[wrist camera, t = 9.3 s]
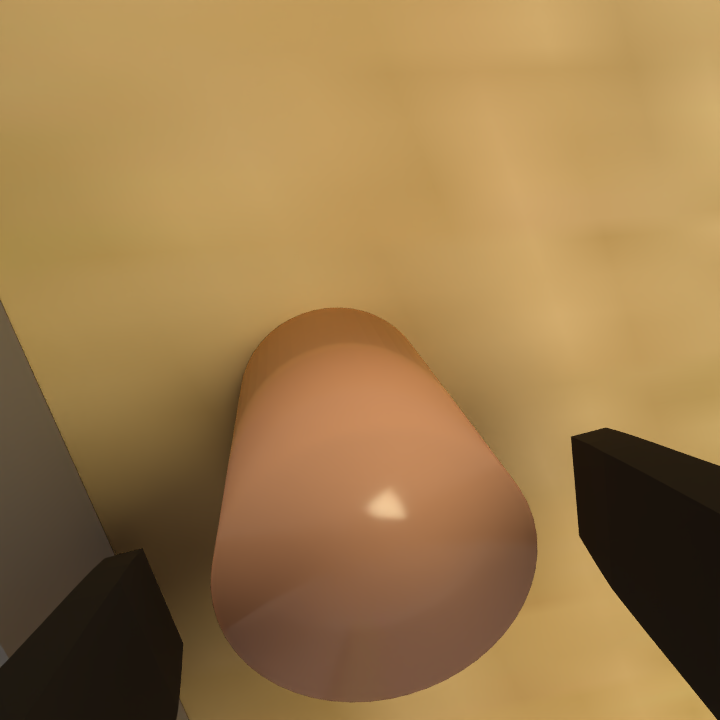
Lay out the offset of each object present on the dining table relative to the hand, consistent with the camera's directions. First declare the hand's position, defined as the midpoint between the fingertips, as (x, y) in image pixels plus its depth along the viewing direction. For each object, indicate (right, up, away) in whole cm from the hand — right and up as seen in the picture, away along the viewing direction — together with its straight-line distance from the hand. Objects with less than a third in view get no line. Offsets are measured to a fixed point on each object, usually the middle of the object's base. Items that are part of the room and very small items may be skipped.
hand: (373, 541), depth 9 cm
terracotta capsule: (-1, +2, +6) cm, 6 cm away
